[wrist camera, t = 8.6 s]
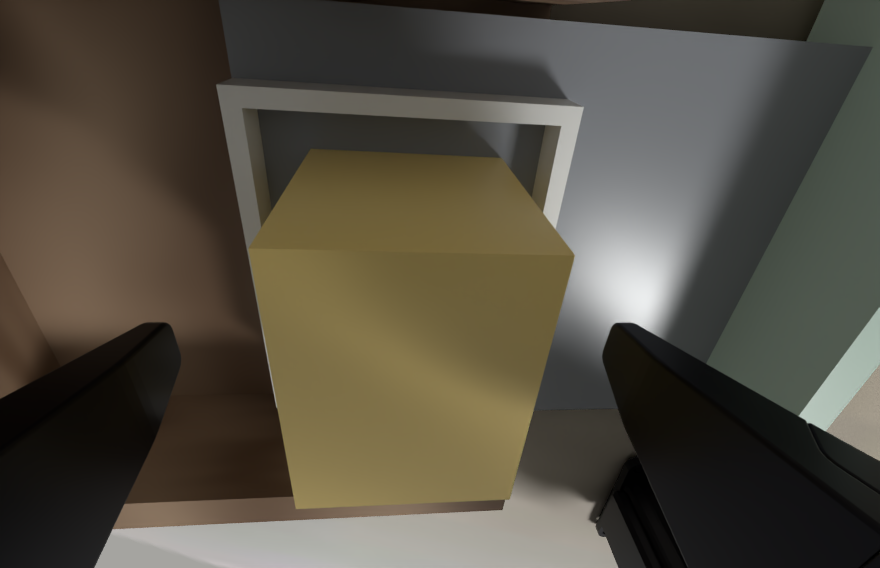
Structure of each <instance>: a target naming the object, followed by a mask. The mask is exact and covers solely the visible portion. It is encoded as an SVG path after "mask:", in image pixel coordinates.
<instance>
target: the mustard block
mask: <svg viewBox="0 0 880 568" xmlns="http://www.w3.org/2000/svg"><path fill="white" fill-rule="evenodd" d="M248 250H249V255H250V261H251V266H252V272H253V277H254V283H255V288H256V293H257V299H258V304H259V310H260V315H261V321H262V326H263V332H264V337H265V343H266V348H267V354H268V359H269V365H270V370H271V376H272V381H273V387H274V392H275V398H276V403H277V409H278V414H279V420H280V425H281V431H282V436H283V442H284V447H285V453H286V458H287V464H288V469H289V475H290V480H291V485H292V491H293V496H294V502H295V507H296V509H311V508H333V507H355V506H377V505H399V504H421V503H443V502H465V501H487V500H509V499H510V496H511V492H512V488H513V485H514V481H515V477H516V474H517V470H518V466H519V462H520V459H521V455H522V451H523V448H524V444H525V440H526V436H527V433H528V429H529V425H530V422H531V418H532V414H533V410H534V407H535V403H536V399H537V396H538V392H539V388H540V384H541V381H542V377H543V373H544V370H545V366H546V362H547V358H548V355H549V351H550V347H551V344H552V340H553V336H554V332H555V329H556V325H557V321H558V318H559V314H560V310H561V306H562V303H563V299H564V295H565V292H566V288H567V284H568V280H569V277H570V273H571V269H572V266H573V262H574V258H575V255H574V253H573V252H572V251H571V249H570V248H569V247H568V245H567V244H566V243H565V241H564V240H563V239H562V237H561V236H560V235H559V233H558V232H557V231H556V230H555V228H554V227H553V226H552V224H551V223H550V222H549V220H548V219H547V218H546V216H545V215H544V214H543V212H542V211H541V210H540V208H539V207H538V206H537V204H536V203H535V202H534V200H533V199H532V198H531V196H530V195H529V194H528V192H527V191H526V190H525V188H524V187H523V186H522V184H521V183H520V182H519V180H518V179H517V178H516V176H515V175H514V174H513V172H512V171H511V170H510V168H509V167H508V166H507V164H506V163H505V162H504V160H503V159H502V158H493V157H473V156H452V155H431V154H411V153H390V152H369V151H349V150H328V149H310V151H309V152H308V154H307V155H306V157H305V159H304V160H303V162H302V163H301V165H300V167H299V168H298V170H297V171H296V173H295V175H294V176H293V178H292V179H291V181H290V183H289V184H288V186H287V187H286V189H285V191H284V192H283V194H282V195H281V197H280V199H279V200H278V202H277V203H276V205H275V207H274V208H273V210H272V211H271V213H270V214H269V216H268V218H267V219H266V221H265V222H264V224H263V226H262V227H261V229H260V230H259V232H258V234H257V235H256V237H255V238H254V240H253V242H252V243H251V245H250V246H249V248H248Z"/></svg>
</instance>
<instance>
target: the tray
mask: <svg viewBox="0 0 880 568" xmlns="http://www.w3.org/2000/svg"><path fill="white" fill-rule="evenodd" d="M219 6H220V12H221V18H222V24H223V30H224V36H225V42H226V48H227V54H228V60H229V65H230V71H231V77H232V78H231V79H229V80H226V81H223V82H221V83H218V84H216V87H217V92H218V97H219V103H220V108H221V113H222V119H223V124H224V130H225V135H226V140H227V146H228V151H229V156H230V162H231V167H232V172H233V178H234V183H235V188H236V194H237V199H238V205H239V210H240V215H241V221H242V226H243V231H244V237H245V242H246V247H247V253H248V258H249V263H250V269H251V274H252V280H253V285H254V290H255V296H256V301H257V306H258V312H259V317H260V322H261V328H262V333H263V338H264V344H265V349H266V354H267V348H266V343H265V337H264V332H263V326H262V321H261V315H260V310H259V304H258V299H257V293H256V288H255V283H254V277H253V272H252V266H251V261H250V255H249V250H248V248H249V246H250V245H251V243H252V242H253V240H254V238H255V237H256V235H257V234H258V232H259V230H260V229H261V227H262V226H263V224H264V222H265V221H266V219H267V218H268V216H269V214H270V213H271V211H272V210H273V208H274V207H275V205H276V203H277V202H278V200H279V199H280V197H281V195H282V194H283V192H284V191H285V189H286V187H287V186H288V184H289V183H290V181H291V179H292V178H293V176H294V175H295V173H296V171H297V170H298V168H299V167H300V165H301V163H302V162H303V160H304V159H305V157H306V155H307V154H308V152H309V151H310V149H328V150H349V151H369V152H390V153H411V154H431V155H452V156H473V157H493V158H502V159H503V160H504V162H505V163H506V164H507V166H508V167H509V168H510V170H511V171H512V172H513V174H514V175H515V176H516V178H517V179H518V180H519V182H520V183H521V184H522V186H523V187H524V188H525V190H526V191H527V192H528V194H529V195H530V196H531V198H532V199H533V200H534V202H535V203H536V204H537V206H538V207H539V208H540V210H541V211H542V212H543V214H544V215H545V216H546V218H547V219H548V220H549V222H550V223H551V224H552V226H553V227H554V228H555V230H556V231H557V232H558V233H559V235H560V236H561V237H562V239H563V240H564V241H565V243H566V244H567V245H568V247H569V248H570V249H571V251H572V252H573V253H574V255H575V258H574V262H573V266H572V269H571V273H570V277H569V280H568V284H567V288H566V292H565V295H564V299H563V303H562V306H561V310H560V314H559V318H558V321H557V325H556V329H555V332H554V336H553V340H552V344H551V347H550V351H549V355H548V358H547V362H546V366H545V370H544V373H543V377H542V381H541V384H540V388H539V392H538V396H537V399H536V403H535V407H534V410H575V409H618V407H617V404H616V401H615V398H614V395H613V392H612V389H611V386H610V383H609V380H608V377H607V374H606V371H605V368H604V365H603V360H602V353H603V349H604V346H605V343H606V340H607V338H608V335H609V332H610V329H611V327H612V325H613V324H615V323H635V324H637V325H639V326H640V327H642V328H644V329H646V330H647V331H649V332H651V333H653V334H655V335H656V336H658V337H660V338H662V339H663V340H665V341H667V342H669V343H670V344H672V345H674V346H676V347H677V348H679V349H681V350H683V351H685V352H686V353H688V354H690V355H692V356H693V357H695V358H697V359H699V360H700V361H702V362H704V363H706V364H707V365H709V366H711V367H713V368H715V369H716V370H718V371H720V372H722V373H723V374H725V375H727V376H729V377H730V378H732V379H734V380H736V381H737V382H739V383H741V384H743V385H744V386H746V387H748V388H750V389H752V390H753V391H755V392H757V393H759V394H760V395H762V396H764V397H766V398H767V399H769V400H771V401H773V402H775V403H776V404H778V405H780V406H782V407H783V408H785V409H787V410H789V411H790V412H792V413H794V414H796V415H797V416H799V417H801V418H803V419H805V420H806V421H807V423H812V424H814V425H815V426H817V427H819V428H821V429H822V430H824V431H826V430H827V429H828V427H829V426H830V425H831V424H832V422H833V421H834V420H835V419H836V417H837V416H838V415H839V414H840V413H841V411H842V410H843V409H844V408H845V406H846V405H847V404H848V403H849V401H850V400H851V399H852V398H853V397H854V395H855V394H856V393H857V392H858V390H859V389H860V388H861V387H862V385H863V384H864V383H865V382H866V381H867V379H868V378H869V377H870V376H871V374H872V373H873V372H874V371H875V369H876V368H877V367H878V366H879V365H880V0H825V1H824V3H823V6H822V8H821V10H820V12H819V14H818V17H817V19H816V21H815V23H814V25H813V28H812V30H811V32H810V34H809V36H808V39H807V41H796V40H784V39H772V38H760V37H749V36H737V35H725V34H713V33H702V32H690V31H678V30H666V29H655V28H643V27H631V26H619V25H608V24H596V23H584V22H572V21H561V20H549V19H537V18H525V17H514V16H502V15H490V14H478V13H467V12H455V11H443V10H432V9H420V8H408V7H396V6H385V5H373V4H361V3H349V2H338V1H326V0H219ZM267 360H268V365H269V359H268V354H267ZM269 371H270V376H271V370H270V365H269ZM271 381H272V376H271ZM272 387H273V381H272ZM273 392H274V387H273ZM274 397H275V392H274ZM275 403H276V398H275ZM276 408H277V403H276Z"/></svg>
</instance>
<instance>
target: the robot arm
mask: <svg viewBox="0 0 880 568" xmlns="http://www.w3.org/2000/svg"><path fill="white" fill-rule="evenodd" d="M602 360H603V365H604V368H605V371H606V374H607V377H608V380H609V383H610V386H611V389H612V392H613V395H614V398H615V401H616V404H617V407H618V410H619V413H620V416H621V419H622V422H623V424H624V427H625V429H626V432H627V434H628V436H629V438H630V441H631V443H632V445H633V447H634V449H635V452H636V454H637V456H638V457H634V458H631V459H629V460H628V461H627V462H626V463H625V465H624V467H623V469H622V471H621V473H620V475H619V477H618V479H617V482H616V484H615V486H614V488H613V490H612V492H611V494H610V496H609V498H608V501H607V503H606V505H605V507H604V509H603V511H602V513H601V515H600V518H599V520H598V522H597V524H596V529H597V532H598V534H599V536H602V537H606V538H607V540H608V543H609V545H610V548H611V550H612V553H613V555H614V558H615V560H616V563H617V565H618V567H619V568H880V461H879V460H877V459H875V458H873V457H871V456H869V455H867V454H865V453H864V452H862V451H860V450H858V449H856V448H855V447H853V446H851V445H849V444H847V443H846V442H844V441H842V440H840V439H838V438H836V437H835V436H833V435H831V434H829V433H828V432H826V431H824V430H822V429H821V428H819V427H817V426H815V425H814V424H812V423H807V421H806V420H805V419H803V418H801V417H799V416H797V415H796V414H794V413H792V412H790V411H789V410H787V409H785V408H783V407H782V406H780V405H778V404H776V403H775V402H773V401H771V400H769V399H767V398H766V397H764V396H762V395H760V394H759V393H757V392H755V391H753V390H752V389H750V388H748V387H746V386H744V385H743V384H741V383H739V382H737V381H736V380H734V379H732V378H730V377H729V376H727V375H725V374H723V373H722V372H720V371H718V370H716V369H715V368H713V367H711V366H709V365H707V364H706V363H704V362H702V361H700V360H699V359H697V358H695V357H693V356H692V355H690V354H688V353H686V352H685V351H683V350H681V349H679V348H677V347H676V346H674V345H672V344H670V343H669V342H667V341H665V340H663V339H662V338H660V337H658V336H656V335H655V334H653V333H651V332H649V331H647V330H646V329H644V328H642V327H640V326H639V325H637V324H635V323H615V324H613V325H612V327H611V329H610V332H609V335H608V338H607V340H606V343H605V346H604V349H603V353H602ZM180 367H181V353H180V350H179V347H178V344H177V341H176V338H175V335H174V332H173V329H172V327H171V325H170V324H168V323H166V322H145V323H142V324H140V325H138V326H136V327H135V328H133V329H131V330H129V331H127V332H125V333H123V334H121V335H119V336H118V337H116V338H114V339H112V340H110V341H108V342H106V343H104V344H102V345H101V346H99V347H97V348H95V349H93V350H91V351H89V352H87V353H85V354H84V355H82V356H80V357H78V358H76V359H74V360H72V361H70V362H68V363H67V364H65V365H63V366H61V367H59V368H57V369H55V370H53V371H51V372H50V373H48V374H46V375H44V376H42V377H40V378H38V379H36V380H34V381H33V382H31V383H29V384H27V385H25V386H23V387H21V388H19V389H17V390H16V391H14V392H12V393H10V394H8V395H6V396H4V397H2V398H0V568H94V567H95V565H96V563H97V561H98V559H99V556H100V554H101V552H102V550H103V548H104V546H105V544H106V542H107V540H108V537H109V536H110V533H111V531H112V529H113V527H114V525H115V523H116V521H117V519H118V517H119V515H120V513H121V510H122V508H123V506H124V504H125V502H126V500H127V498H128V496H129V494H130V492H131V489H132V487H133V485H134V483H135V481H136V479H137V477H138V475H139V473H140V471H141V468H142V466H143V464H144V462H145V460H146V458H147V456H148V454H149V452H150V450H151V447H152V445H153V443H154V441H155V438H156V436H157V433H158V431H159V428H160V425H161V422H162V420H163V417H164V414H165V411H166V408H167V405H168V402H169V399H170V396H171V393H172V390H173V387H174V384H175V381H176V379H177V376H178V373H179V370H180Z"/></svg>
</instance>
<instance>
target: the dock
mask: <svg viewBox="0 0 880 568" xmlns="http://www.w3.org/2000/svg"><path fill="white" fill-rule="evenodd" d="M326 1H338V2H349V3H361V4H373V5H385V6H396V7H408V8H420V9H432V10H443V11H455V12H467V13H478V14H490V15H502V16H514V17H525V18H537V19H550V13H551V7H552V5H564V4H580V3H597V2H613V1H629V0H326ZM231 78H232V77H231V71H230V65H229V60H228V54H227V48H226V42H225V36H224V30H223V24H222V18H221V12H220V6H219V0H0V398H2V397H4V396H6V395H8V394H10V393H12V392H14V391H16V390H17V389H19V388H21V387H23V386H25V385H27V384H29V383H31V382H33V381H34V380H36V379H38V378H40V377H42V376H44V375H46V374H48V373H50V372H51V371H53V370H55V369H57V368H59V367H61V366H63V365H65V364H67V363H68V362H70V361H72V360H74V359H76V358H78V357H80V356H82V355H84V354H85V353H87V352H89V351H91V350H93V349H95V348H97V347H99V346H101V345H102V344H104V343H106V342H108V341H110V340H112V339H114V338H116V337H118V336H119V335H121V334H123V333H125V332H127V331H129V330H131V329H133V328H135V327H136V326H138V325H140V324H142V323H145V322H166V323H168V324H170V325H171V327H172V329H173V332H174V335H175V338H176V341H177V344H178V347H179V350H180V353H181V367H180V370H179V373H178V376H177V379H176V381H175V384H174V387H173V390H172V393H171V396H170V399H169V402H168V405H167V408H166V411H165V414H164V417H163V420H162V422H161V425H160V428H159V431H158V433H157V436H156V438H155V441H154V443H153V445H152V447H151V450H150V452H149V454H148V456H147V458H146V460H145V462H144V464H143V466H142V468H141V471H140V473H139V475H138V477H137V479H136V481H135V483H134V485H133V487H132V489H131V492H130V494H129V496H128V498H127V500H126V502H125V504H124V506H123V508H122V510H121V513H120V515H119V517H118V519H117V521H116V523H115V525H114V527H113V529H124V528H145V527H165V526H185V525H206V524H226V523H246V522H267V521H287V520H307V519H328V518H348V517H368V516H389V515H409V514H429V513H449V512H470V511H490V510H503V506H504V502H505V500H487V501H465V502H443V503H421V504H399V505H377V506H355V507H333V508H311V509H296V507H295V502H294V496H293V491H292V485H291V480H290V475H289V469H288V464H287V458H286V453H285V447H284V442H283V436H282V431H281V425H280V420H279V414H278V409H277V408H276V403H275V397H274V392H273V387H272V381H271V376H270V371H269V365H268V360H267V354H266V349H265V344H264V338H263V333H262V328H261V322H260V317H259V312H258V306H257V301H256V296H255V290H254V285H253V280H252V274H251V269H250V263H249V258H248V253H247V247H246V242H245V237H244V231H243V226H242V221H241V215H240V210H239V205H238V199H237V194H236V188H235V183H234V178H233V172H232V167H231V162H230V156H229V151H228V146H227V140H226V135H225V130H224V124H223V119H222V113H221V108H220V103H219V97H218V92H217V87H216V84H218V83H221V82H223V81H226V80H229V79H231Z"/></svg>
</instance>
